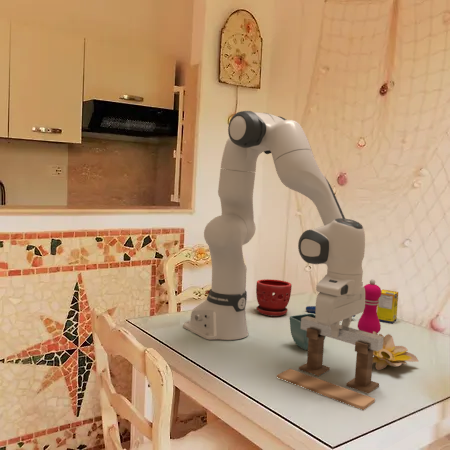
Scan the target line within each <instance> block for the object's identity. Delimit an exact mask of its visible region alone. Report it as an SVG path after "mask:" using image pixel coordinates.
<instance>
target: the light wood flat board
mask: <svg viewBox="0 0 450 450" xmlns="http://www.w3.org/2000/svg"><path fill="white" fill-rule="evenodd" d="M277 377H278V378H280V379H279V380H281V379H283V380H286V381H288V382H287V383H289V382H291V383H293V384H292V385H294V384H296V385H295V386H297V385H299V386H302V387H304V388H303V389H305V388H306V389H305V390H307V389H309V390H308V391H310V390H311V392H313V391H314V392H313V393H316V392H317V393H316V394H318V393H319V395H321V394H322V395H321V396H325V397H326V396H327V397H326V398H329V399H332V398H333V400H334V399H335V400H334V401H337V400H338V401H337V402H340V401H341V402H340V403H342V402H344V403H343V404H345V403H346V404H345V405H348V404H349V405H348V406H350V405H351V407H353V406H354V407H353V408H355V409H358V408H360V409H359V410H361V409H362V411H364V410H366V409H368V408H369V407H370V406H372V404H373V403H374V404H375V401H376V398H374V397H372V396H368V395H366V394H362V393H360V392H358V391H356V390H352V389H350V388H345V387H343V386H340V385H338V384H334V383H331V382H329V381H327V380H323V379H320V378H317V377H316V376H315V377H314V376H312V375H308V374H306V373H303V372H301V371H298V370H294V369H291V368H289V369H286V370H284V371H282V372H280V373H278V374H276V378H277ZM278 378H277V379H278ZM283 380H282V381H283ZM286 381H285V382H286ZM291 383H290V384H291ZM299 386H298V387H299ZM302 387H301V388H302Z"/></svg>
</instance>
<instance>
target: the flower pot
mask: <svg viewBox="0 0 450 450" xmlns="http://www.w3.org/2000/svg"><path fill="white" fill-rule="evenodd" d="M306 316H309V317H313V318H315V313H304V314H298V315H290V316H289V328H290V334H291V337H292V340H293V342H294V343H295V345H296V346H297V347H299V348H301V349H303V350H305V351H308V341H309V338H308V337H306V335H307V331H306V330H303V329H300V328H301V318H303V317H306ZM326 338H327V336H324V340H325V339H326Z"/></svg>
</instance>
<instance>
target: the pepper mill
mask: <svg viewBox="0 0 450 450" xmlns="http://www.w3.org/2000/svg"><path fill="white" fill-rule="evenodd" d="M363 287H364V288H365V308H364V311H363V312H362V314H361V316H360V318H359V319H358V322H357V330H361V331H364V332H368V333H372V334H373V332H376V333H377V334H379V333H380V331H381V329H382V328H381V321H379V319H378V316H377V305H378V304H379V300H378V298H379V297H380V296H381V290H382V289H381V287H380V286H379V285H377V284H376V280H375V279H370V280H369V283H368V284H365V285H363Z"/></svg>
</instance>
